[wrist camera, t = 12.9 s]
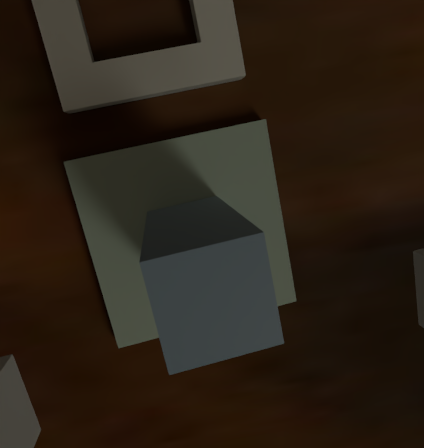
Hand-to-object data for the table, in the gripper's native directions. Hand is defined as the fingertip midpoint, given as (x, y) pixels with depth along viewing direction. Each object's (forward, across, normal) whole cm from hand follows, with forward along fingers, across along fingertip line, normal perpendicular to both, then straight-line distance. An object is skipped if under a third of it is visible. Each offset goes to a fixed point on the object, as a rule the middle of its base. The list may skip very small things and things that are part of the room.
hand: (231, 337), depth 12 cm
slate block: (+15, 0, 0) cm, 15 cm away
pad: (+16, 0, 0) cm, 16 cm away
